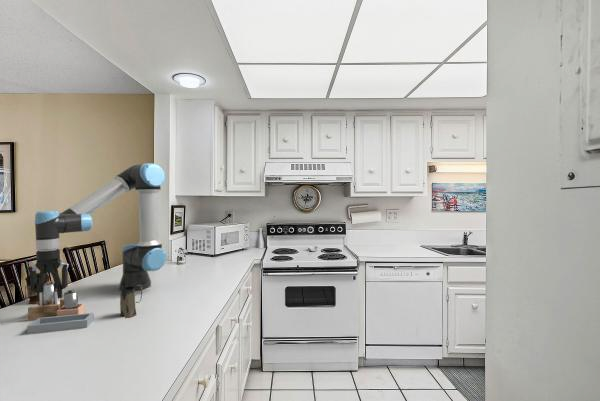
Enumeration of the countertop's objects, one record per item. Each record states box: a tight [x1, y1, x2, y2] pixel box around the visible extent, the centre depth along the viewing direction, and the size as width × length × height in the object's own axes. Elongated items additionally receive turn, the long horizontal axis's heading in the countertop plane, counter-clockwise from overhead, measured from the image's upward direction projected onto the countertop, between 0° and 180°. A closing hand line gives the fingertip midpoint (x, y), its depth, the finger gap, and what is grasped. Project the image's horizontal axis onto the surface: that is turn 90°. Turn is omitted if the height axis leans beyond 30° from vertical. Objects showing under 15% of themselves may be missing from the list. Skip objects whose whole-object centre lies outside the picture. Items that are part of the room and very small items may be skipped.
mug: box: [119, 285, 143, 319], centre depth 131 cm, size 8×6×12 cm
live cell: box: [42, 280, 57, 306], centre depth 131 cm, size 4×4×11 cm
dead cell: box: [63, 289, 79, 310], centre depth 127 cm, size 4×4×11 cm
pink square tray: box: [57, 303, 86, 316], centre depth 127 cm, size 7×7×5 cm
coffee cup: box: [24, 272, 50, 305], centre depth 149 cm, size 9×8×13 cm
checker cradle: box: [25, 298, 64, 322], centre depth 131 cm, size 11×10×6 cm
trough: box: [26, 312, 95, 335], centre depth 119 cm, size 18×8×3 cm, turn 107°
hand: (50, 307), depth 131 cm, fingers closed on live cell, 4 cm apart
